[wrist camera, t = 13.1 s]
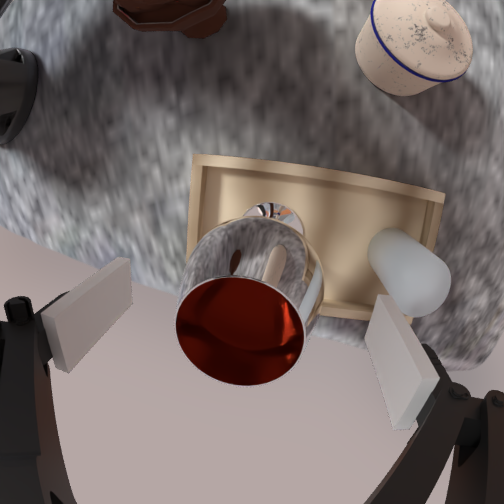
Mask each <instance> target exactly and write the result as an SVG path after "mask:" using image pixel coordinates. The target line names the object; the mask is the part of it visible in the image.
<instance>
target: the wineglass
mask: <svg viewBox="0 0 504 504" xmlns="http://www.w3.org/2000/svg"><path fill="white" fill-rule="evenodd" d="M324 292H325V280H324V273H323V268H322V265H321V262H320V259H319V257H318V255H317V253H316V251H315V249H314V248H313V246H312V245H311V244H310V242H309V241H308V240H307V239H306V238H305V237H304V236H303V228H302V224H301V222H300V219H299V218H298V216H297V215H296V214H295V212H294V211H293V210H291V209H290V208H289V207H287V206H285V205H283V204H281V203H277V202H262V203H259V204H256V205H254V206H252V207H251V208H249V209H248V210H247V211H246V212H245V213H244V214H243V216H242V217H237V218H234V219H230V220H228V221H225V222H223V223H221V224H219V225H217V226H216V227H214V228H213V229H211V230H210V231H209V232H208V233H207V234H206V235H204V236H203V237H202V239H201V240H200V241H199V242H198V243H197V245H196V246H195V248H194V249H193V251H192V253H191V255H190V257H189V259H188V261H187V264H186V266H185V269H184V273H183V276H182V280H181V285H180V289H179V294H178V300H177V306H176V312H175V318H174V331H175V337H176V340H177V343H178V345H179V347H180V349H181V351H182V353H183V354H184V356H185V357H186V358H187V360H188V361H189V362H190V363H191V364H192V365H193V366H194V367H195V368H196V369H197V370H199V371H200V372H202V373H203V374H204V375H206V376H208V377H209V378H211V379H213V380H216V381H218V382H221V383H224V384H228V385H232V386H238V387H254V386H262V385H266V384H269V383H272V382H274V381H276V380H279V379H280V378H282V377H284V376H285V375H286V374H288V373H289V372H290V371H291V370H292V369H293V368H294V367H295V366H296V364H297V363H298V362H299V360H300V359H301V356H302V354H303V352H304V350H305V348H306V346H307V344H308V342H309V340H310V337H311V335H312V333H313V331H314V328H315V326H316V323H317V321H318V318H319V315H320V312H321V308H322V305H323V300H324Z"/></svg>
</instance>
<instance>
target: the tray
mask: <svg viewBox="0 0 504 504" xmlns="http://www.w3.org/2000/svg"><path fill="white" fill-rule="evenodd" d="M444 200H445V193H442V192H438V191H435V190H431V189H427V188H423V187H418V186H414V185H410V184H406V183H401V182H396V181H392V180H387V179H382V178H377V177H372V176H367V175H362V174H357V173H351V172H346V171H340V170H334V169H328V168H322V167H315V166H308V165H301V164H294V163H287V162H279V161H271V160H262V159H253V158H243V157H233V156H221V155H208V154H193V160H192V172H191V185H190V199H189V215H188V234H187V257H186V264H187V261H188V259H189V257H190V255H191V253H192V251H193V249H194V248H195V246H196V245H197V243H198V242H199V241H200V240H201V239H202V237H203V236H204V235H206V234H207V233H208V232H209V231H210V230H211V229H213V228H214V227H216V226H217V225H219V224H221V223H223V222H225V221H228V220H230V219H234V218H237V217H242V216H243V214H244V213H245V212H246V211H247V210H248V209H249V208H251V207H252V206H254V205H256V204H259V203H262V202H277V203H281V204H283V205H285V206H287V207H289V208H290V209H291V210H293V211H294V212H295V214H296V215H297V216H298V218H299V219H300V222H301V224H302V228H303V236H304V237H305V238H306V239H307V240H308V241H309V242H310V244H311V245H312V246H313V248H314V249H315V251H316V253H317V255H318V257H319V259H320V262H321V265H322V268H323V273H324V280H325V292H324V300H323V305H322V308H321V312H320V315H323V316H331V317H339V318H348V319H357V320H367V321H370V319H371V316H372V313H373V310H374V306H375V303H376V300H377V296H378V294H382V295H389V293H388V292H387V290H386V288H385V287H384V285H383V284H382V282H381V281H380V279H379V278H378V276H377V275H376V273H375V272H374V270H373V269H372V267H371V265H370V264H369V261H368V256H367V251H368V246H369V244H370V241H371V240H372V238H373V237H374V236H375V235H376V234H377V233H378V232H380V231H381V230H383V229H386V228H398V229H401V230H402V231H404V232H405V233H407V234H408V235H410V236H411V237H412V238H414V239H415V240H416V241H418V242H419V243H420V244H422V245H423V246H424V247H426V248H427V249H428V250H430V251H431V252H432V253H433V251H434V247H435V243H436V239H437V234H438V230H439V225H440V220H441V215H442V210H443V205H444ZM403 315H404V317H405V318H406V320H407V322H408V323H409V325H411V323H412V320H413V318H414V317H410V316H407V315H405V314H403Z"/></svg>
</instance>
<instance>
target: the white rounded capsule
mask: <svg viewBox="0 0 504 504" xmlns="http://www.w3.org/2000/svg"><path fill="white" fill-rule="evenodd" d="M367 256H368V261H369V264H370V265H371V267H372V269H373V270H374V272H375V273H376V275H377V276H378V278H379V279H380V281H381V282H382V284H383V285H384V287H385V288H386V290H387V292H388V293H389V295H391V296H392V298H393V299H394V301H395V302H396V304H397V305H398V307H399V309H400V310H401V312H402V313H403V314H405V315H407V316H410V317H423V316H426V315H429V314H431V313H432V312H434V311H435V310H437V309H438V308H439V307H440V306H441V305H442V303H443V302H444V301H445V299H446V297H447V295H448V293H449V290H450V286H451V275H450V271H449V268H448V267H447V265H446V264H445V263H444V262H443V261H442V260H441V259H440V258H439V257H437V256H436V255H435V254H433V253H432V252H431V251H430V250H428V249H427V248H426V247H424V246H423V245H422V244H420V243H419V242H418V241H416V240H415V239H414V238H412V237H411V236H410V235H408V234H407V233H405V232H404V231H402V230H401V229H398V228H386V229H383V230H381V231H380V232H378V233H377V234H376V235H375V236H374V237H373V238H372V240H371V241H370V244H369V246H368V251H367Z"/></svg>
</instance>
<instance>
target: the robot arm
mask: <svg viewBox="0 0 504 504" xmlns="http://www.w3.org/2000/svg"><path fill="white" fill-rule="evenodd" d="M11 2H12V0H0V18H1V16H2V15H3V13H4V12H5V10H6V9H7V7H8V6H9V5H10V3H11ZM37 81H38V68H37V63H36V59H35V57H34V55H33V54H32V53H31V52H30V51H28V50H25V49H21V48H8V49H3V50H0V144H5V143H7V142H9V141H11V140H12V139H13V138H14V137H15V136H16V135H17V134H18V132H19V131H20V130H21V128H22V127H23V125H24V123H25V121H26V119H27V117H28V115H29V113H30V110H31V107H32V104H33V101H34V98H35V93H36V88H37ZM132 304H133V302H132V286H131V267H130V259H127V258H121V257H118V258H116V259H115V260H113V261H112V262H110V263H109V264H107V265H106V266H104V267H103V268H102V269H100V270H99V271H97V272H96V273H94V274H93V275H92V276H90V277H89V278H87V279H86V280H85V281H83V282H82V283H80V284H79V285H78V286H77V287H75V288H74V289H72V290H71V291H68V292H65V293H63V294H61V295H59V296H58V297H57V298H55V299H54V300H52V301H51V302H50V303H49V304H47V305H46V306H45V307H43V308H42V309H40V310H39V311H38V312H36V313H35V314H34V312H33V308H32V304H31V300H30V299H29V298H28V297H25V296H18V297H14V298H11V299H9V300H8V301H6V302H5V304H4V308H5V312H6V316H7V319H8V322H5V321H0V504H77V503H76V501H75V499H74V496H73V493H72V490H71V486H70V483H69V479H68V476H67V472H66V468H65V464H64V460H63V455H62V451H61V446H60V441H59V436H58V431H57V425H56V419H55V412H54V405H53V397H52V389H51V379H50V368H49V365H48V361H49V360H50V359H51V358H52V357H53V360H54V364H55V367H56V368H57V369H59V370H62V371H64V372H67V373H70V371H72V369H73V368H74V367H75V366H76V365H77V364H78V363H79V361H80V360H81V359H82V358H83V357H84V356H85V355H86V354H87V353H88V351H89V350H90V349H91V348H92V347H93V346H94V345H95V344H96V343H97V341H98V340H99V339H100V338H101V337H102V336H103V335H104V334H105V333H106V332H107V331H108V330H109V328H110V327H111V326H112V325H113V324H114V323H115V322H116V321H117V320H118V319H119V318H120V317H121V316H122V315H123V314H124V312H125V311H126V310H127V309H128V308H129V307H130V306H131V305H132ZM364 339H365V342H366V345H367V348H368V351H369V354H370V357H371V360H372V363H373V366H374V369H375V372H376V375H377V378H378V381H379V384H380V388H381V391H382V394H383V398H384V401H385V404H386V407H387V411H388V415H389V418H390V422H391V425H392V429H393V430H406V429H410V428H411V426H412V425H413V423H414V422H415V420H417V423H418V426H419V427H418V428H417V430H416V431H415V433H414V434H413V436H412V437H411V438H410V440H409V441H408V443H407V446H406V447H405V449H404V450H403V452H402V453H401V455H400V456H399V458H398V459H397V461H396V462H395V464H394V465H393V466H392V468H391V469H390V471H389V472H388V473H387V475H386V476H385V478H384V479H383V480H382V482H381V483H380V484H379V485H378V487H377V488H376V489H375V491H374V492H373V493H372V494H371V496H370V497H369V498H368V499H367V501H366V502H365V503H364V504H425V503H426V501H427V499H428V498H429V496H430V494H431V492H432V490H433V488H434V486H435V485H436V483H437V481H438V479H439V477H440V475H441V473H442V471H443V469H444V467H445V464H446V462H447V460H448V458H449V456H450V453H451V451H452V449H453V446H454V445H455V447H454V454H453V462H452V470H451V475H450V481H449V486H448V491H447V497H446V501H445V504H504V393H503V392H500V391H498V390H491V391H489V392H488V393H487V394H486V396H485V398H484V399H480V398H474V397H471V395H470V392H469V391H468V390H467V388H465V387H464V386H463V385H461V384H458V383H455V382H452V381H451V379H450V377H449V375H448V374H447V372H446V370H445V369H444V367H443V365H441V364H442V363H441V362H440V360H439V359H438V357H437V355H436V353H435V352H434V350H433V349H431V348H430V347H429V346H428V345H427V344H421V343H420V342H419V340H418V338H417V337H416V335H415V333H414V332H413V330H412V328H411V327H410V325H409V323H408V322H407V320H406V318H405V317H404V315H403V313H402V312H401V310H400V309H399V307H398V305H397V304H396V302H395V301H394V299H393V298H392V296H391V295H382V294H378V296H377V300H376V303H375V306H374V310H373V313H372V316H371V319H370V323H369V326H368V329H367V332H366V335H365V338H364Z"/></svg>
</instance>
